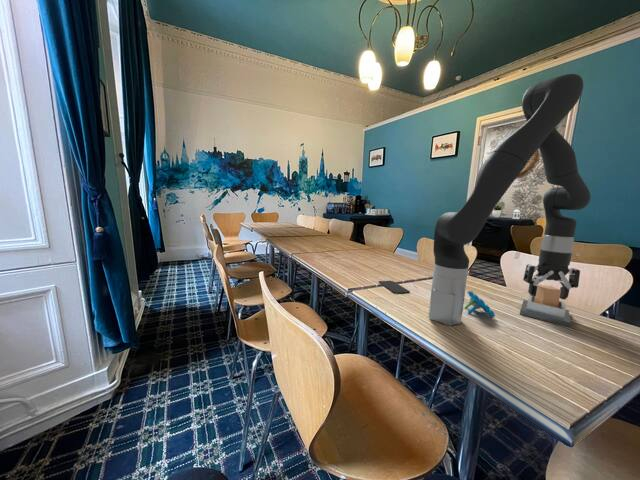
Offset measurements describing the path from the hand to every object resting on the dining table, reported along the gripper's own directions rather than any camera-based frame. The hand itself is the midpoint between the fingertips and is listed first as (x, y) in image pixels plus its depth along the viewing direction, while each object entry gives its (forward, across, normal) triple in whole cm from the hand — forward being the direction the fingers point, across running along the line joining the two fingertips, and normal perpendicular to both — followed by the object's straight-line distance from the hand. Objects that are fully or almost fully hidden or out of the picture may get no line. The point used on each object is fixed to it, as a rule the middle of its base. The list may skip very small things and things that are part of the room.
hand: (547, 297), depth 84 cm
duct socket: (+6, 0, 0) cm, 6 cm away
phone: (+7, -49, +12) cm, 50 cm away
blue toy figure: (+6, -22, -6) cm, 24 cm away
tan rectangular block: (+5, 0, 0) cm, 5 cm away
